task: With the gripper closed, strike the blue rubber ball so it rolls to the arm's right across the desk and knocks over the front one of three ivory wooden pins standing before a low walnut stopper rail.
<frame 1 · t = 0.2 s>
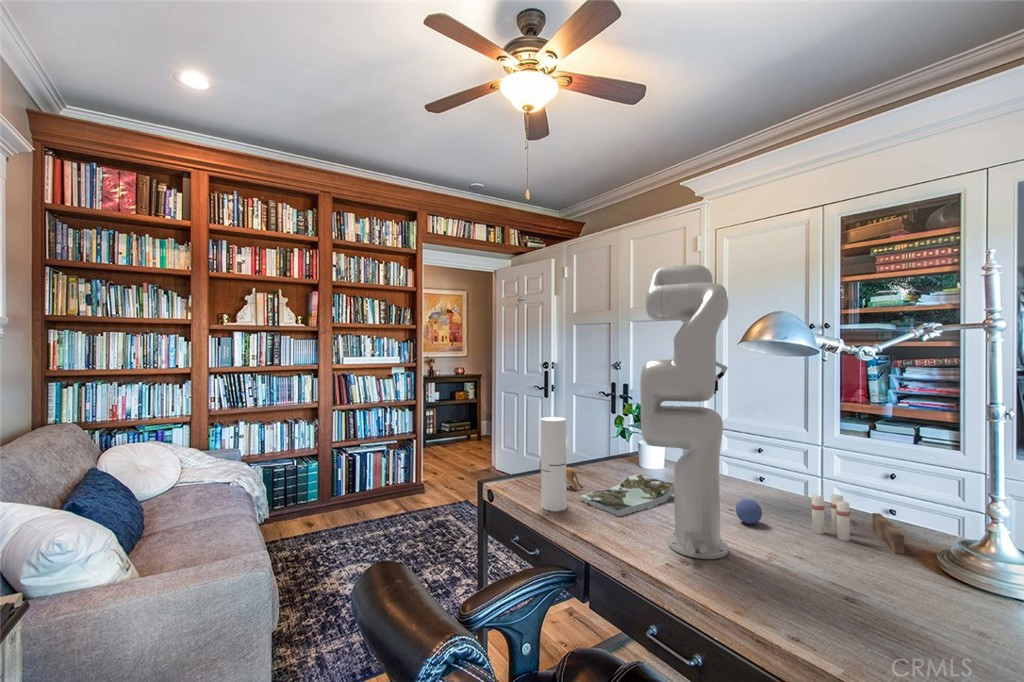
hand: (697, 392, 143), 31 cm above the table, tool pointing down, fingers open, 9 cm apart
ball: (748, 511, 115), on the table
rear pin near: (843, 539, 105), on the table
lion figurine: (559, 488, 147), on the table
rear pin far: (837, 531, 110), on the table
cylindrical container: (554, 507, 128), on the table
stopper rail: (887, 540, 104), on the table
front pin: (818, 532, 109), on the table
topographical model: (629, 501, 134), on the table
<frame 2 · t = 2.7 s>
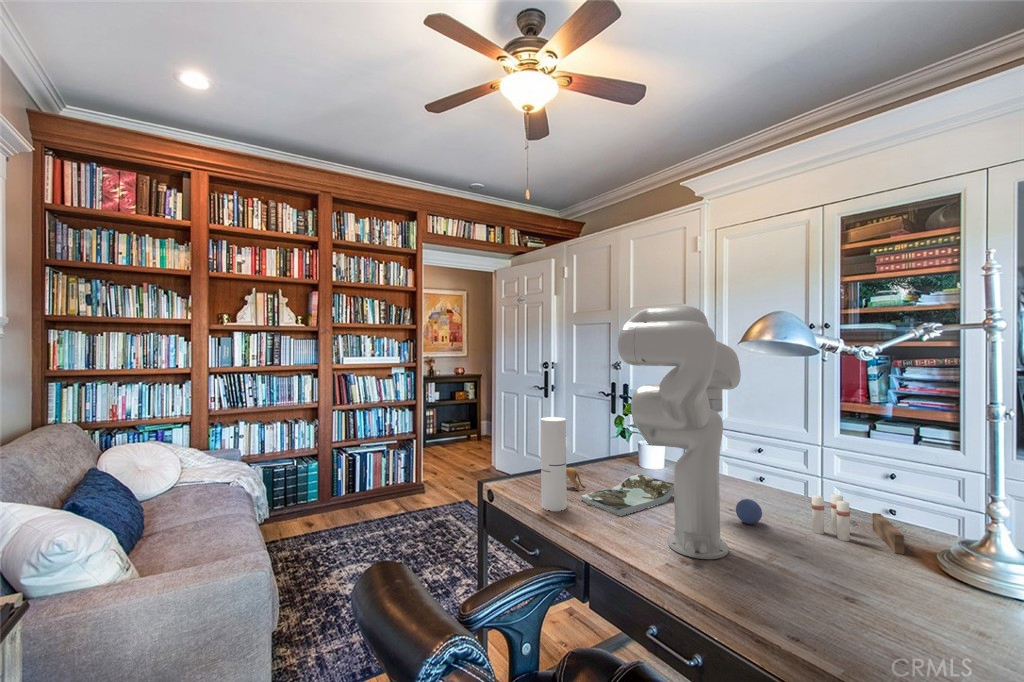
hand: (708, 473, 120), 12 cm above the table, tool pointing down, fingers closed
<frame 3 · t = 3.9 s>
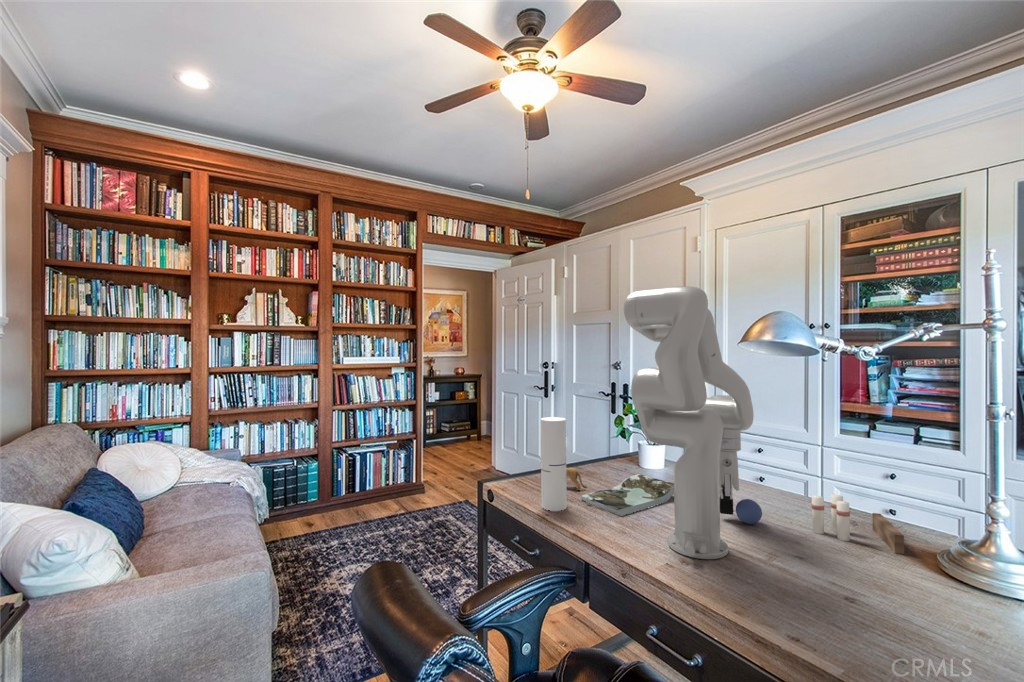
hand: (726, 512, 118), 2 cm above the table, tool pointing down, fingers closed
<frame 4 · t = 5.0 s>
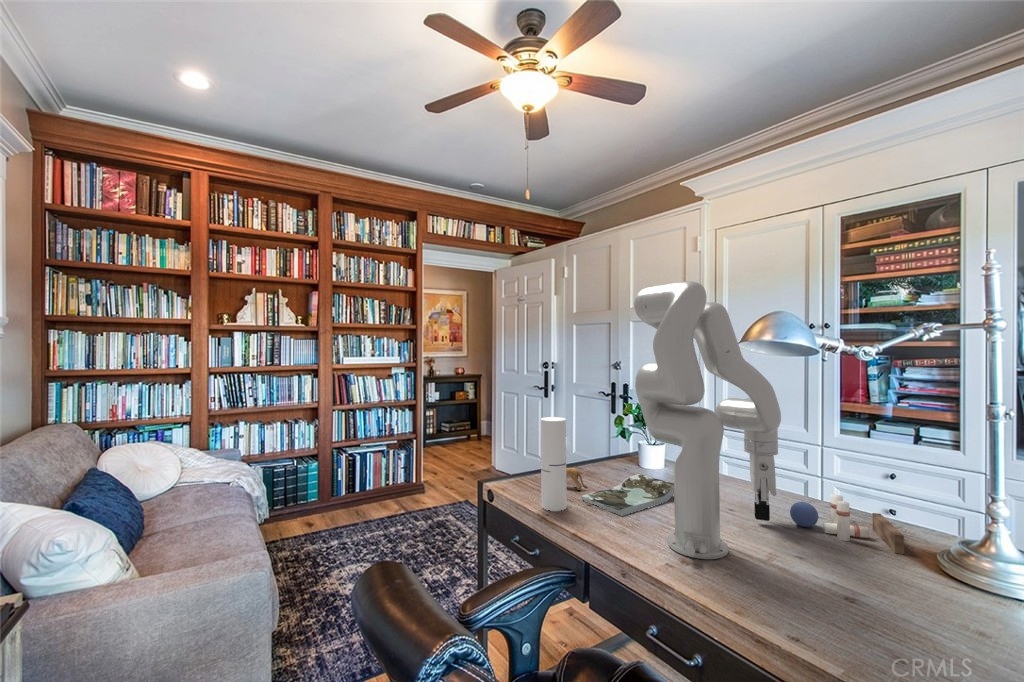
hand: (762, 518, 114), 2 cm above the table, tool pointing down, fingers closed
ball: (803, 514, 113), on the table
front pin: (824, 527, 109), point 1 cm above the table, tilted 89°
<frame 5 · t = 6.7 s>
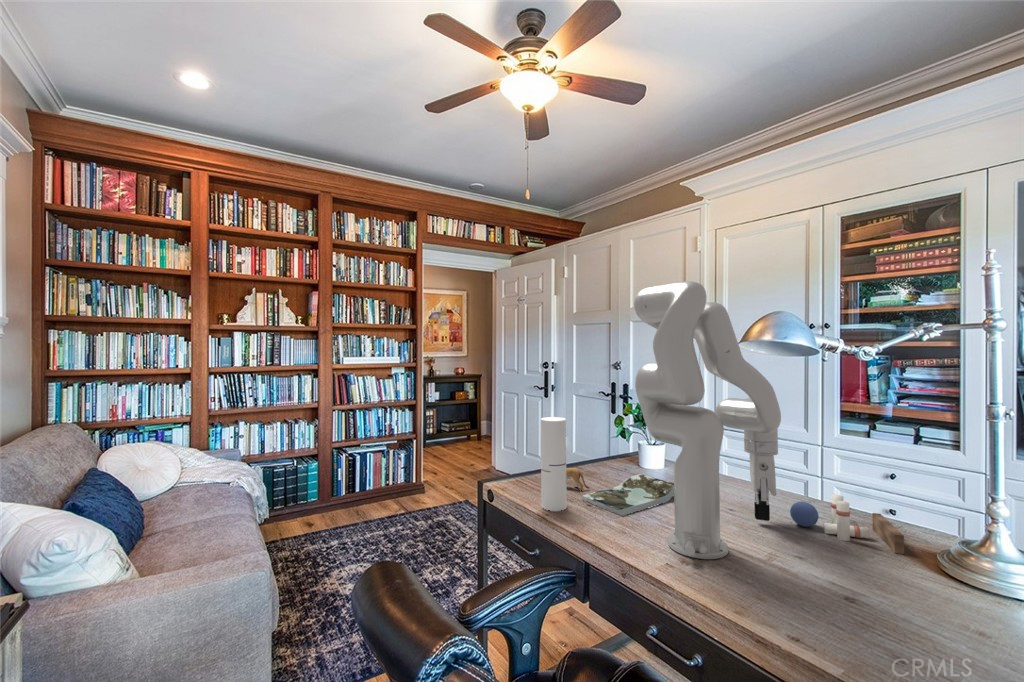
hand: (762, 518, 114), 2 cm above the table, tool pointing down, fingers closed
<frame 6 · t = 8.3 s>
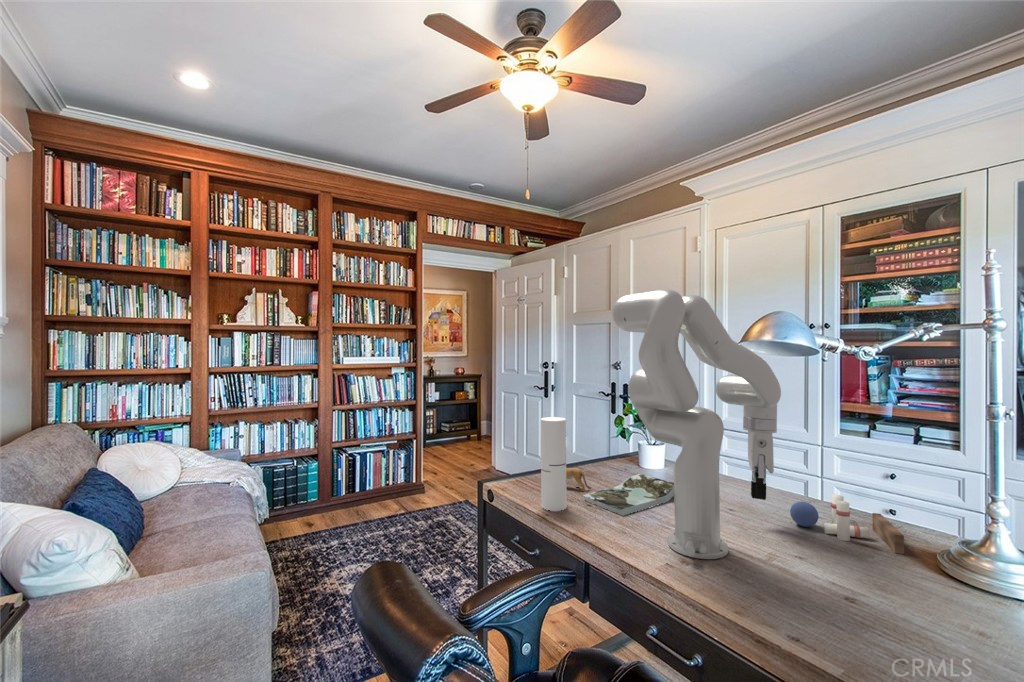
hand: (758, 498, 114), 7 cm above the table, tool pointing down, fingers closed
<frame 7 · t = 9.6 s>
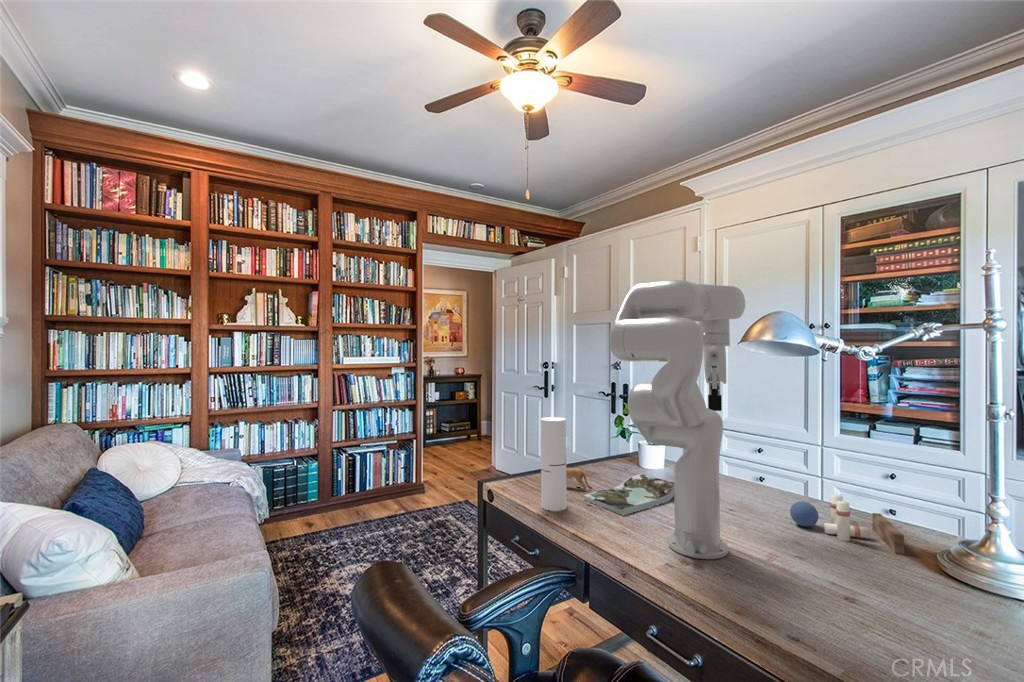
hand: (714, 410, 119), 29 cm above the table, tool pointing down, fingers closed
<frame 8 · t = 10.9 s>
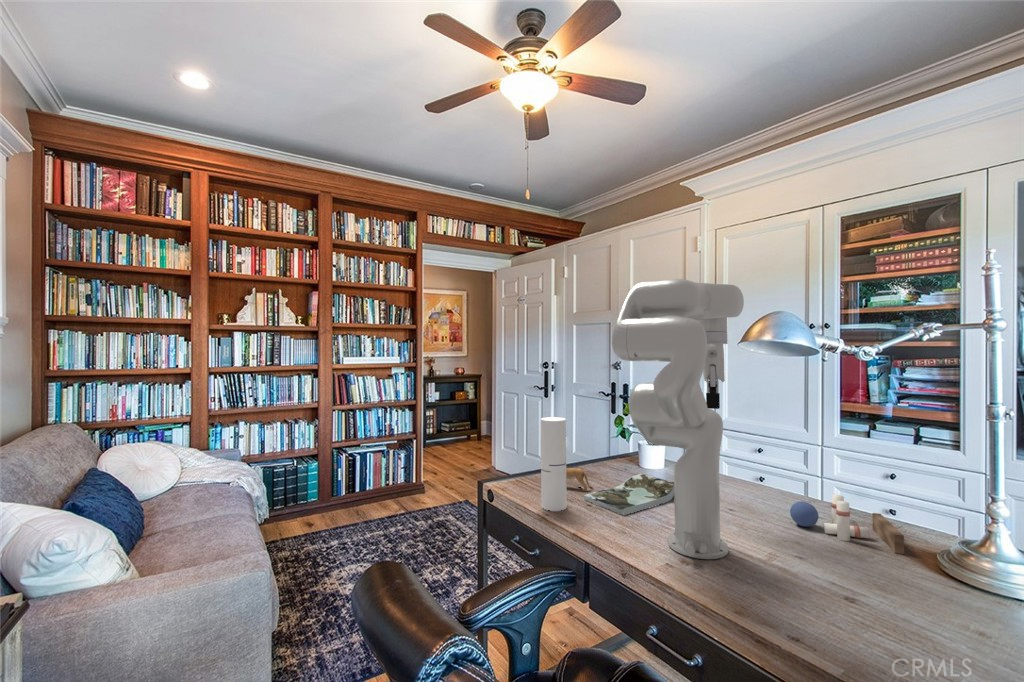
hand: (712, 408, 119), 29 cm above the table, tool pointing down, fingers closed
at the end: 1 of 3 knocked over (down: front pin; still standing: rear pin near, rear pin far); front pin never touched the robot; ball moved 13.0 cm from its start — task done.
